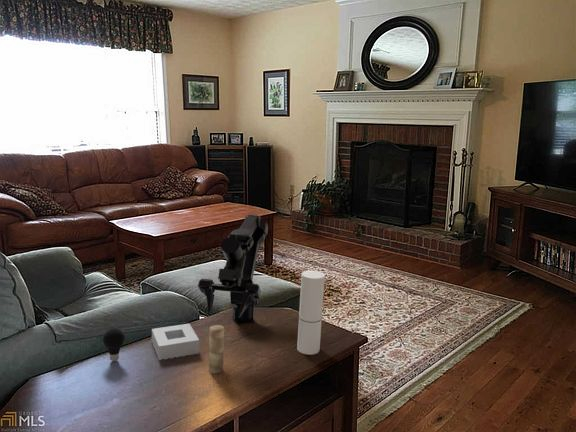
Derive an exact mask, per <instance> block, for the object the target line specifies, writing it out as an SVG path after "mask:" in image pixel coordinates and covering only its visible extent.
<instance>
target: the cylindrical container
mask: <svg viewBox="0 0 576 432" xmlns="http://www.w3.org/2000/svg"><path fill="white" fill-rule="evenodd" d="M325 277H326V275H325V273H324V272H322V271H317V270H305V271H302V272H301V276H300V279H301V280H300V291H299V293H300V294H299V295H300V296H299V308H298V309H299V310H298V311H299V312H298V313H299V315H298V325H297V326H298V328H297V329H298V330H297V345H296V350H297V351H298V352H299V353H300V354H303V355H310V356H312V355H316V354H319V352H320V348H321V337H322V336H321V334H322V333H321V332H322V322H323V306H324V305H323V304H324V295H325V294H324V293H325V292H324V291H325V281H326V279H325Z"/></svg>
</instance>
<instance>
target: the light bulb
mask: <svg viewBox="0 0 576 432" xmlns="http://www.w3.org/2000/svg"><path fill="white" fill-rule="evenodd" d="M124 342H125V334H124V332H123V331H122V330H121V329H119V328H117V327H115V328H110V329H108V330H107V331H106V332H105V333H104V335H103V336H102V343H103V345H104V346H105V347H106V348H107V351H108V353H109V360H110V361H112V362H117V360H119V358H120V356H119V355H120V354H119V353H120V350H121V347H122V346H123V344H124Z"/></svg>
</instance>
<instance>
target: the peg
mask: <svg viewBox="0 0 576 432" xmlns="http://www.w3.org/2000/svg"><path fill="white" fill-rule="evenodd" d="M224 338H225V327H224V326H223V325H220V324H219V325H218V324H217V325H216V324H215V325H212V326H210V327H209V345H208V347H209V350H208V352H209V353H208V355H209V356H208V372H209V373H210V374H212V375H219V374H221V373H223V372H224V350H225V349H224V347H225V346H224V343H225V339H224Z"/></svg>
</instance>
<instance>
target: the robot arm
mask: <svg viewBox="0 0 576 432" xmlns="http://www.w3.org/2000/svg"><path fill="white" fill-rule="evenodd" d="M244 218H245V219H244V221H243V222H242V224H241V225H240V227H238V228H237V229H232V231H231V232H230V233H229V234H228V236H227V237H226V238H224V239H223V240H222V242H221V243H220V249H221V250H222V253H223V256H224V258H225V259H226V262H225V265H224V266H223V268H219V269H218V276H217V279H218V280H219V283H215V282H214V280H213V279H211V278H201V279H200V280H198V284H197V287H198V290H199V291H200V292H201V293H202V294H203V295H204V297H205V298H206V302H207V303H206V304H207V313H208V315H211V313H212V310H213V305H214V300H215V294H214V293H215V291H219V292H220V291H221V292H229V293H230V294H229V296H230V305H234V306H233V307H232V317H231V318H232V319H233V320H234V321H235V323H236V324H237V325H241V324H242V325H243V324H249V323H255V322H256V319H255V318H254V310H255V309H254V308H255V307H256V306H258V303H259V302H258V301H259V300H260V299H261V294H262V290H261V287H260V285H259V284H258V283H254V281H253V279H254V274H255V268H256V264H257V257H258V253H259V250H260V249H259V248H260V245H262V244H263V242H264V241H265V239H266V236H267V235H268V232H269V225H268V222H267V221H266V220H264V219H262V218H261V216H260V215H258V214H246V215H245V217H244ZM243 251H245V252H243Z"/></svg>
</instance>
